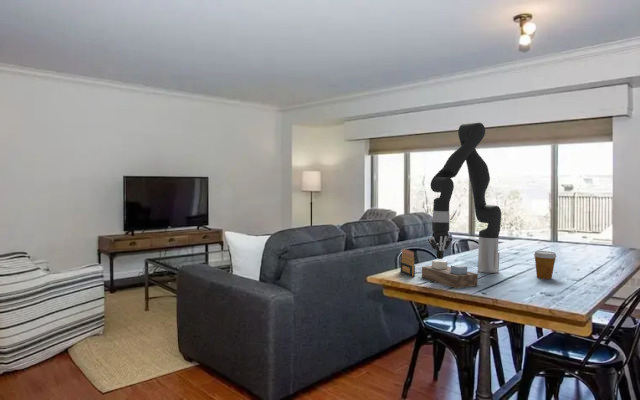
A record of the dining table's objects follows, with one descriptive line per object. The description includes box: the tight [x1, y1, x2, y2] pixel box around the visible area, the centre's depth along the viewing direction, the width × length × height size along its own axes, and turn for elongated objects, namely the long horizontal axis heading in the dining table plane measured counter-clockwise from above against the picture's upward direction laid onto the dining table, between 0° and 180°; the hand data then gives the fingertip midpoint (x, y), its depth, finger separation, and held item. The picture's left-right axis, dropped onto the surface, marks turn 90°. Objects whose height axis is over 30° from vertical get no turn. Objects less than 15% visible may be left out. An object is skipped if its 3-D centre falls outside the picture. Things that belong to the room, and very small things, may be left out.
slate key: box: [450, 264, 468, 275], centre depth 189 cm, size 5×5×4 cm
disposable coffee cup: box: [533, 250, 557, 280], centre depth 205 cm, size 10×10×12 cm
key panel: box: [421, 265, 479, 289], centre depth 195 cm, size 12×22×5 cm, turn 27°
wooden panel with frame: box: [399, 247, 416, 278], centre depth 208 cm, size 11×2×12 cm, turn 18°
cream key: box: [431, 259, 448, 269], centre depth 200 cm, size 5×5×4 cm
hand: (439, 258), depth 200 cm, fingers closed
